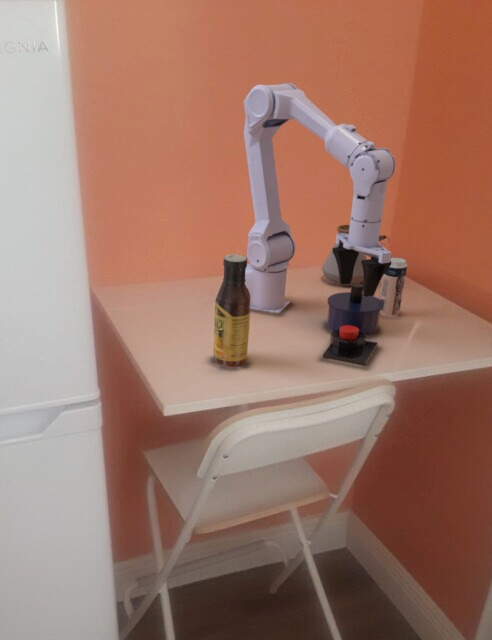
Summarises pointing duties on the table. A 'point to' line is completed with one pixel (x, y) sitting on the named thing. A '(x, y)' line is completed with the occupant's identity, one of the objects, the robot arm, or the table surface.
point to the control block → (350, 349)
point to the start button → (348, 332)
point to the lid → (355, 301)
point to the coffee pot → (332, 268)
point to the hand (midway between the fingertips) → (356, 289)
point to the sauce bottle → (232, 314)
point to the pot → (353, 320)
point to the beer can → (393, 286)
